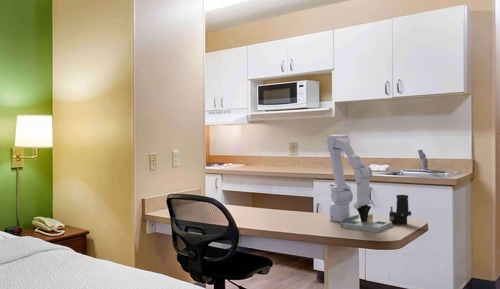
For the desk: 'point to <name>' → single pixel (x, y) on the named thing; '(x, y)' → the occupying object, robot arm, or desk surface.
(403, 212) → the scope
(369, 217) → the block
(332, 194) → the robot arm
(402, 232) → the desk surface
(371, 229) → the board
